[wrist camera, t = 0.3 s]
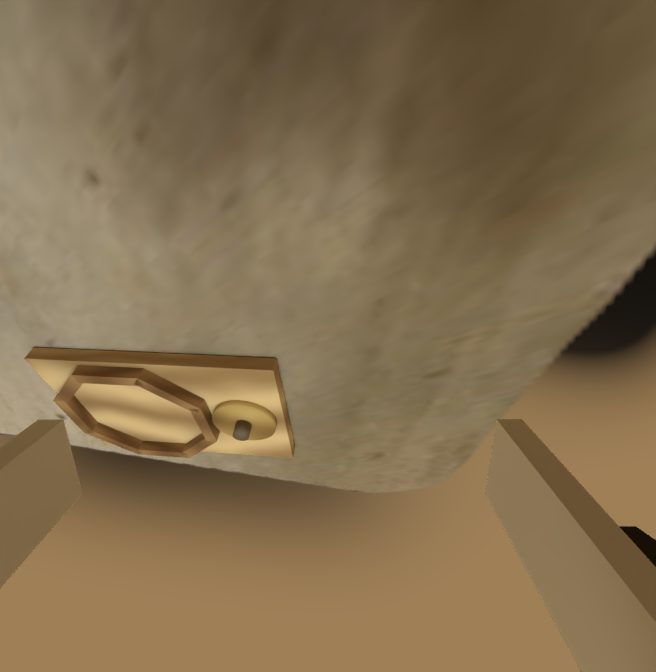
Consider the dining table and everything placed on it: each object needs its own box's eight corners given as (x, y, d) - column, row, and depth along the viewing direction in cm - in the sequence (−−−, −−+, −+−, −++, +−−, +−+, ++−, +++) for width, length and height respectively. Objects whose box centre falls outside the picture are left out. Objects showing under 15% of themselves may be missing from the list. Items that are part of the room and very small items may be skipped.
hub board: (33, 347, 31) (9, 376, 29) (276, 358, 29) (268, 390, 27) (111, 434, 41) (96, 460, 39) (294, 446, 39) (290, 475, 37)
